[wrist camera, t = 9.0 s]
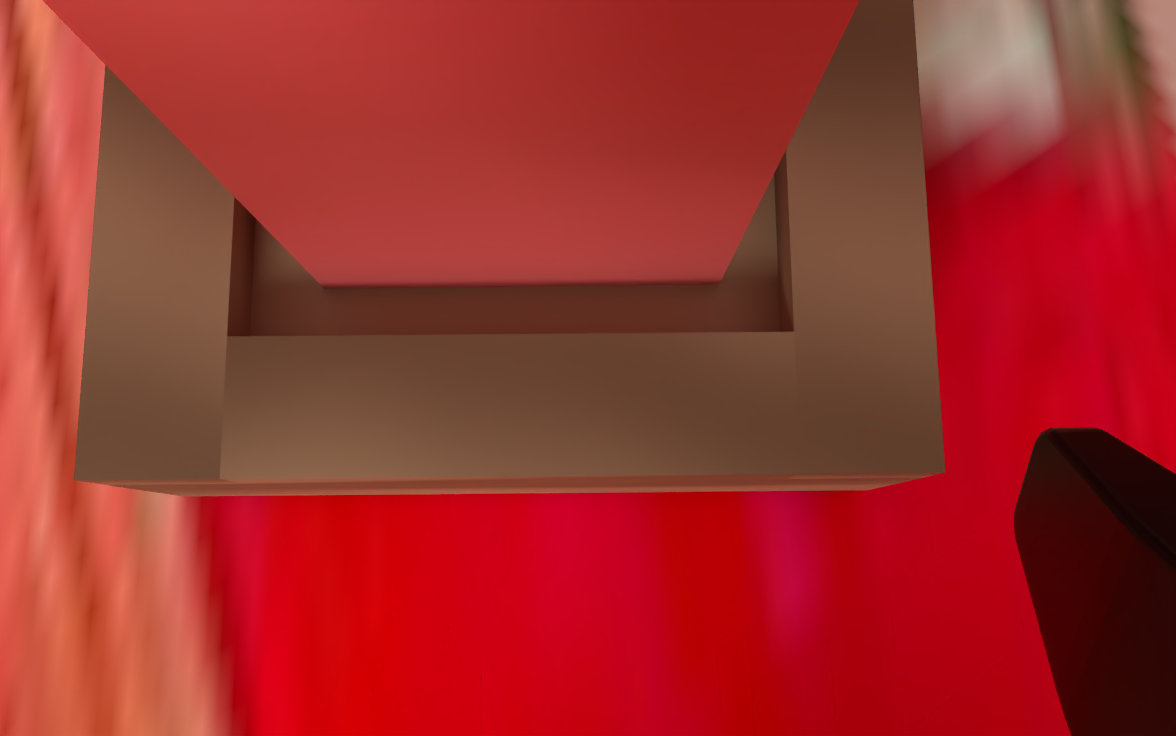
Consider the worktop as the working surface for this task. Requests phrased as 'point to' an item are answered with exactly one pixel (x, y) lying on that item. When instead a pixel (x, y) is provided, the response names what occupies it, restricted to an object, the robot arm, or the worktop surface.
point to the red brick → (481, 126)
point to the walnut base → (526, 335)
